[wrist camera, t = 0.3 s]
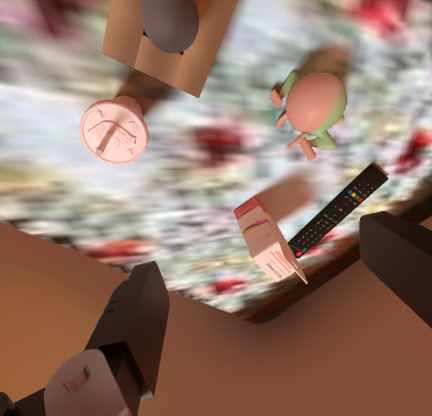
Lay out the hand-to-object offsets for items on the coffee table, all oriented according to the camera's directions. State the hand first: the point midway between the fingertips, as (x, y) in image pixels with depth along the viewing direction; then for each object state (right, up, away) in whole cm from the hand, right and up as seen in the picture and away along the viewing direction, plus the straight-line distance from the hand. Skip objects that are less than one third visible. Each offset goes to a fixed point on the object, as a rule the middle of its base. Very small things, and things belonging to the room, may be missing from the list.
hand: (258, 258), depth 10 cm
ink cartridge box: (+6, 0, +37) cm, 37 cm away
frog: (+10, +17, +26) cm, 33 cm away
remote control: (+21, +1, +40) cm, 46 cm away
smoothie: (-13, +15, +22) cm, 30 cm away
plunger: (-6, +21, +15) cm, 26 cm away
